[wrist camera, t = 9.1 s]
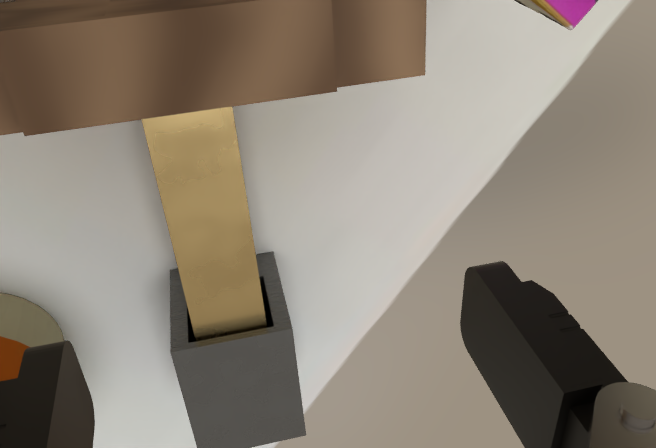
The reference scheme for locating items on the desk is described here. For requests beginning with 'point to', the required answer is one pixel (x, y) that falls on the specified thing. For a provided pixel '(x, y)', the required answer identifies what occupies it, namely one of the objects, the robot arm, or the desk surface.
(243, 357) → the grey sleeve
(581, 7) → the candy bar box
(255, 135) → the desk surface
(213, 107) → the walnut block
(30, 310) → the reusable coffee cup
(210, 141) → the brass bar
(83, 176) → the desk surface
